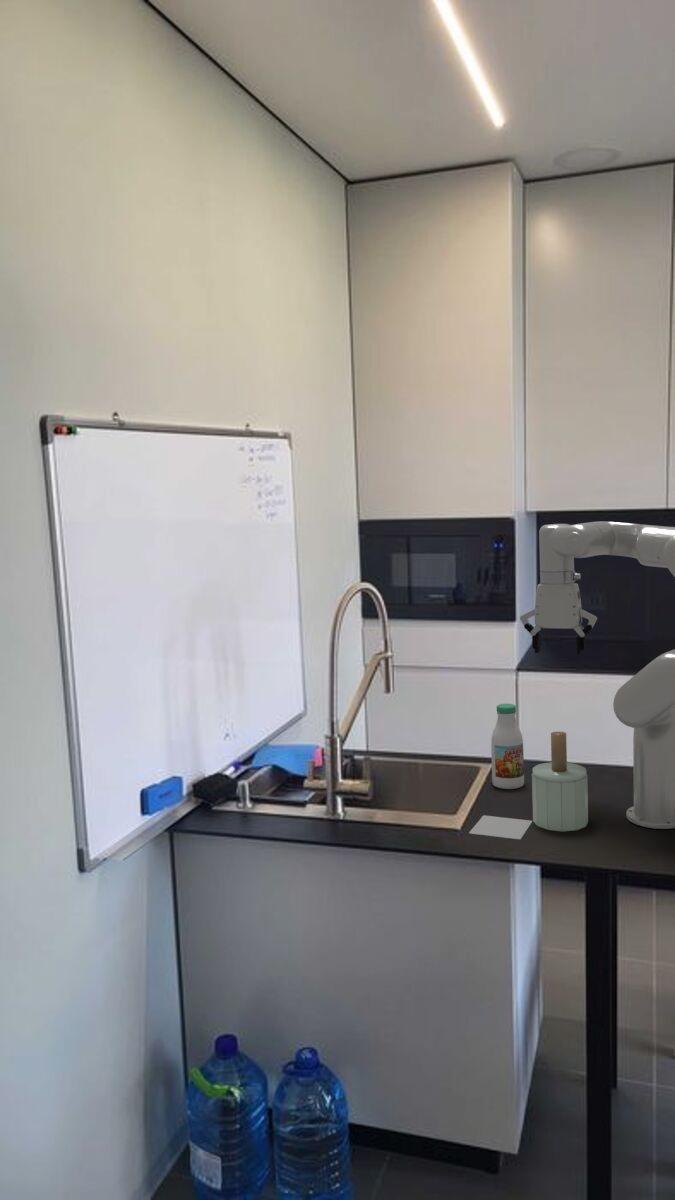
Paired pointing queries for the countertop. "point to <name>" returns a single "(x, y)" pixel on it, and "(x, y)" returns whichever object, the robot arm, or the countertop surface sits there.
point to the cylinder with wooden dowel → (559, 790)
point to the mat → (501, 827)
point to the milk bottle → (507, 750)
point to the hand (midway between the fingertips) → (558, 652)
